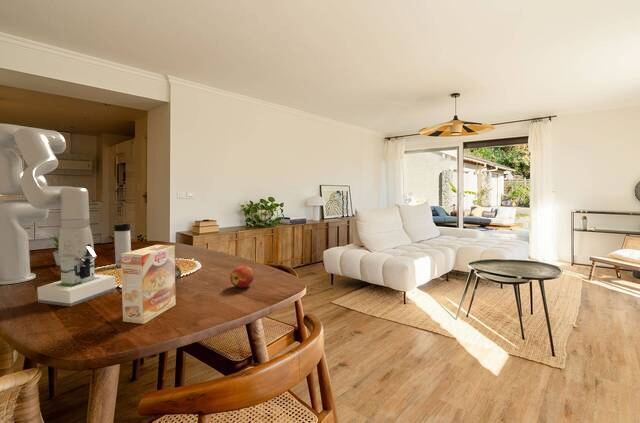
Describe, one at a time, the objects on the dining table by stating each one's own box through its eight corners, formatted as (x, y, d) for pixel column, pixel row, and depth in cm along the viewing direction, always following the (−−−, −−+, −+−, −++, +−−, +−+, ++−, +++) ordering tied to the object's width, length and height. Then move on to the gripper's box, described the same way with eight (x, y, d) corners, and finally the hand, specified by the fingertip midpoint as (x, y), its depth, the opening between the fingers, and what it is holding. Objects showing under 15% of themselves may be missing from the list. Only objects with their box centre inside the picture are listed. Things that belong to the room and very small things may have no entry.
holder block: (38, 302, 104) (37, 287, 104) (87, 286, 121) (86, 273, 120) (70, 306, 101) (69, 290, 101) (116, 289, 118) (115, 276, 117)
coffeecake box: (144, 324, 90) (142, 255, 88) (121, 322, 91) (119, 253, 89) (177, 304, 104) (175, 245, 103) (157, 303, 105) (155, 244, 104)
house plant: (32, 267, 146) (29, 231, 145) (61, 260, 160) (59, 227, 159) (58, 268, 144) (56, 232, 143) (86, 261, 158) (84, 228, 156)
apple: (226, 288, 121) (226, 267, 121) (242, 282, 129) (242, 262, 128) (243, 291, 118) (243, 270, 117) (258, 285, 125) (258, 265, 124)
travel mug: (120, 268, 147) (118, 224, 145) (113, 266, 150) (111, 223, 148) (134, 265, 152) (133, 223, 150) (126, 263, 155) (125, 222, 154)
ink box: (72, 292, 106) (71, 256, 105) (60, 291, 107) (58, 255, 106) (96, 284, 115) (94, 251, 114) (84, 283, 116) (83, 250, 115)
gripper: (44, 224, 107) (47, 277, 109) (86, 226, 103) (88, 282, 105) (66, 221, 115) (69, 272, 116) (106, 223, 111) (108, 275, 112)
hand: (78, 276), depth 110 cm, fingers closed on ink box, 5 cm apart
